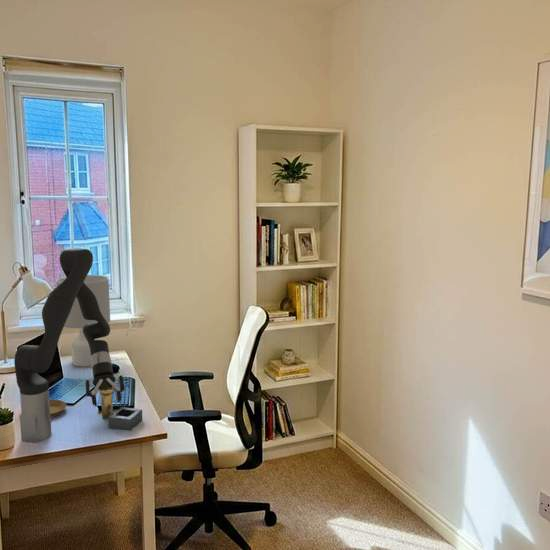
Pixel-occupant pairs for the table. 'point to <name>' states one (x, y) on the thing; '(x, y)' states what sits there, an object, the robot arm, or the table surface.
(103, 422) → the table surface
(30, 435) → the robot arm
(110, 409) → the brass flared peg
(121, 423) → the box
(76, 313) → the lamp
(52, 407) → the plant saucer
